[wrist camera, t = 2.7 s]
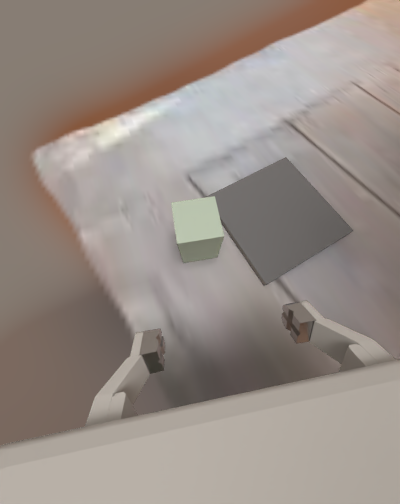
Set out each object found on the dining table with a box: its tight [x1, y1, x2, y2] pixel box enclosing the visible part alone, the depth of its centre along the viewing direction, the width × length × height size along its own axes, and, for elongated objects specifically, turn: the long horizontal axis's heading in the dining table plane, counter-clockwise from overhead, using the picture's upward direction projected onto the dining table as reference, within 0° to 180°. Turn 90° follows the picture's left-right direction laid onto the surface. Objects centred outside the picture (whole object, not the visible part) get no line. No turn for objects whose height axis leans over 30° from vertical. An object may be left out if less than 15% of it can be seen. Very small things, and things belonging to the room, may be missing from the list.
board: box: [207, 158, 353, 285], centre depth 28 cm, size 16×16×1 cm
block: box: [171, 196, 224, 263], centre depth 23 cm, size 5×5×8 cm
